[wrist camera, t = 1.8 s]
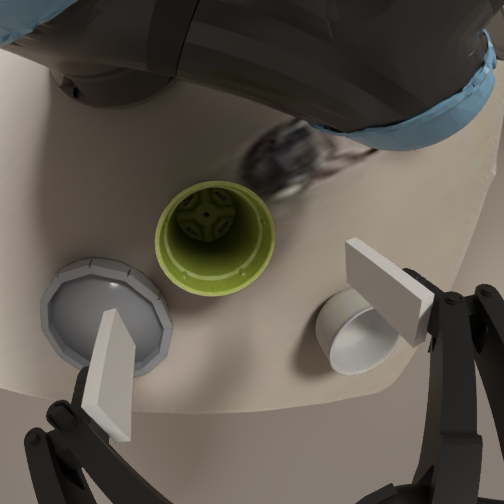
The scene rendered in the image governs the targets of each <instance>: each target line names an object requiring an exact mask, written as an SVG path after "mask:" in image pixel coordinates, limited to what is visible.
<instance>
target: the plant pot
mask: <svg viewBox="0 0 504 504" xmlns="http://www.w3.org/2000/svg"><path fill="white" fill-rule="evenodd" d="M215 192H219V193H220V194H221V195H224V196H225V198H226V201H223V199H222V198H221V197H219V196H218V195H216V194H215ZM190 195H194V197H193V198H192V199H190V201H189V202H188V203H187V205H186V206H185V205H184V201H185V200H186V199H187V198H188V197H189V196H190ZM205 212H208V213H209V216H208V217H205V216H204V213H205ZM226 221H227V225H226V227H225V229H224V230H222V231H221V232H219V231H218V230H219V229H220V228H221V227H222V226H223V225H224V223H225V222H226ZM187 227H190V228H191V229H192V230H193V231H194V232H196V233H198V235H194V234H192V233H190V232H189V231H188V230H187ZM275 237H276V234H275V225H274V221H273V218H272V215H271V213H270V211H269V209H268V207H267V206H266V204H265V203H264V202H263V201H262V199H261V198H260V197H259V196H257V195H256V194H255V193H254V192H253V191H251V190H250V189H248V188H246V187H244V186H242V185H240V184H237V183H233V182H229V181H222V180H213V181H205V182H201V183H198V184H195V185H192V186H190V187H188V188H186V189H185V190H183V191H182V192H180V193H179V194H178V195H177V196H175V197H174V198H173V199H172V200H171V201H170V203H169V204H168V205H167V206H166V208H165V209H164V211H163V213H162V215H161V217H160V219H159V222H158V225H157V228H156V233H155V251H156V256H157V259H158V262H159V265H160V267H161V268H162V270H163V272H164V273H165V274H166V276H167V277H168V278H169V279H170V280H171V281H172V282H173V283H174V284H176V285H177V286H179V287H180V288H182V289H184V290H185V291H188V292H190V293H193V294H197V295H202V296H222V295H227V294H231V293H234V292H237V291H239V290H241V289H243V288H245V287H246V286H248V285H249V284H251V283H252V282H253V281H255V280H256V279H257V278H258V277H259V276H260V274H261V273H262V272H263V271H264V269H265V268H266V266H267V265H268V263H269V261H270V259H271V256H272V253H273V250H274V246H275Z"/></svg>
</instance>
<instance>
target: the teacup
mask: <svg viewBox="0 0 504 504" xmlns="http://www.w3.org/2000/svg"><path fill="white" fill-rule="evenodd" d="M315 331H316V337H317V340H318V343H319V345H320V347H321V349H322V350H323V352H324V354H325V355H326V357H327V359H328V360H329V363H330V365H331V367H332V369H333V370H334V371H335V372H337V373H338V374H341V375H344V376H355V375H360V374H363V373H366V372H368V371H370V370H372V369H374V368H376V367H377V366H378V365H380V364H381V363H382V362H383V361H384V360H386V359H387V358H388V357H389V356H390V354H391V353H392V352H393V351H394V349H395V348H396V346H397V344H398V343H399V340H400V338H401V335H400V334H399V333H398V332H397V331H396V330H395V329H394V328H393V327H392V326H391V325H390V324H389V323H388V322H387V321H386V320H385V319H384V318H383V317H382V316H381V315H380V314H379V313H378V312H377V311H376V310H375V309H374V308H373V307H372V306H371V305H370V304H369V303H368V302H367V301H366V300H365V299H364V298H363V297H362V296H361V295H360V294H359V293H358V292H357V291H356V290H355V289H354V288H353V287H352V288H348V289H345V290H342V291H340V292H338V293H337V294H335V295H334V296H333V297H331V298H330V299H329V300H328V301H327V302H326V303H325V305H324V306H323V307H322V309H321V311H320V313H319V315H318V317H317V321H316V326H315Z"/></svg>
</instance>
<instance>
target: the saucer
mask: <svg viewBox="0 0 504 504" xmlns="http://www.w3.org/2000/svg"><path fill="white" fill-rule="evenodd" d="M114 308H116V309H117V311H118V313H119V315H120V317H121V319H122V321H123V323H124V325H125V327H126V329H127V330H128V332H129V334H130V336H131V338H132V340H133V342H134V343H135V345H136V348H135V360H134V373H133V377H136V376H141V375H145V373H146V374H147V373H148V372H149V371H151V370H152V369H153V368H154V367H155V366H156V365H158V364H159V363H160V362H161V361H162V360H163V359H165V358H166V355H167V354H168V350H169V345H170V341H171V336H172V332H173V321H172V318H171V316H170V312H169V308H168V305H167V302H166V300H165V298H164V296H163V295H162V293H161V292H160V290H159V289H158V287H157V286H156V285H155V284H154V283H153V282H152V281H151V280H150V279H149V278H148V277H147V276H146V275H144V274H143V273H142V272H140V271H139V270H137V269H135V268H134V267H132V266H130V265H128V264H125V263H123V262H120V261H116V260H113V259H107V258H87V259H83V260H79V261H76V262H74V263H71V264H69V265H68V266H66V267H65V268H62V269H61V270H59V272H58V273H57V275H56V276H55V278H54V279H53V281H52V282H51V284H50V285H49V286H48V288H47V289H46V291H45V293H44V294H43V296H42V297H41V300H40V313H41V327H42V329H43V330H42V331H43V332H44V334H45V336H46V337H47V339H48V340H49V342H50V344H51V345H52V347H53V348H54V350H55V351H56V353H57V354H58V355H60V357H61V358H62V359H64V360H65V361H67V362H68V363H70V364H71V365H73V366H74V367H76V368H77V369H79V370H80V371H81V369H82V368H83V367H86V366H90V362H91V358H92V354H93V350H94V346H95V342H96V338H97V334H98V331H99V327H100V323H101V320H102V316H103V313H104V311H107V310H111V309H114Z"/></svg>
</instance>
